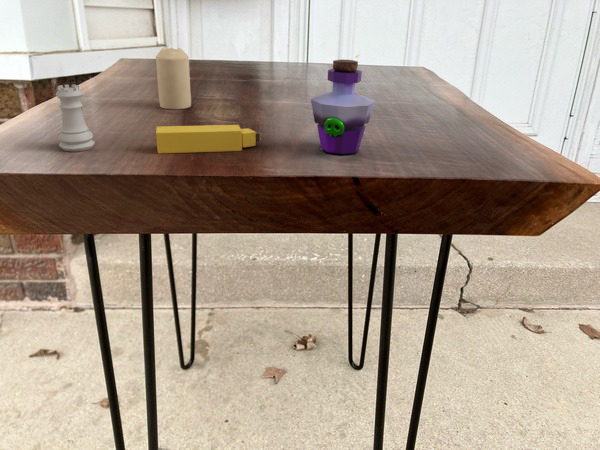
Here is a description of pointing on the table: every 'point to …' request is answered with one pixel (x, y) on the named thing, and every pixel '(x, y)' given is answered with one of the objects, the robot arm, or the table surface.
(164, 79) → the candle
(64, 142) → the rook chess piece
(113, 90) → the table surface
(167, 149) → the yellow highlighter marker
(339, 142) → the potion bottle
